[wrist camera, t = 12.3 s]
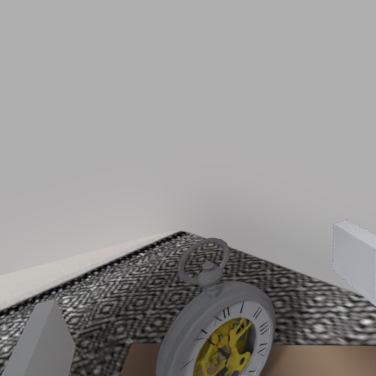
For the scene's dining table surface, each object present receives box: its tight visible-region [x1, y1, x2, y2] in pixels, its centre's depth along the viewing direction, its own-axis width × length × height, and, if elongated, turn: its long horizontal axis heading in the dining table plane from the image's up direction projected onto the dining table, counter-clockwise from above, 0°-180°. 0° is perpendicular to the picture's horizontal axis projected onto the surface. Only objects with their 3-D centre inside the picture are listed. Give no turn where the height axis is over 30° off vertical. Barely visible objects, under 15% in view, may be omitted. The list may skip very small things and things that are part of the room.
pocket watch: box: [156, 238, 276, 376], centre depth 10 cm, size 8×8×10 cm
